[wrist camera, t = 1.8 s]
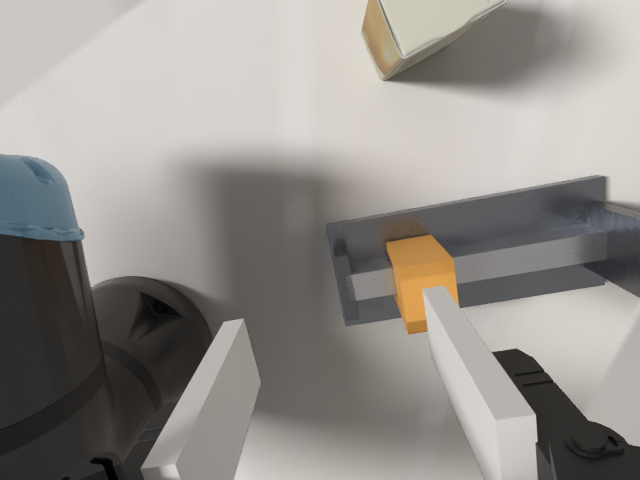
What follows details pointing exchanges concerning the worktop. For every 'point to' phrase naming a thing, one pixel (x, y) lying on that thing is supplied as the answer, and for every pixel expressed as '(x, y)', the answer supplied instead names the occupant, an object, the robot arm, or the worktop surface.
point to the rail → (474, 229)
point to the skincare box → (417, 29)
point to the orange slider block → (419, 276)
